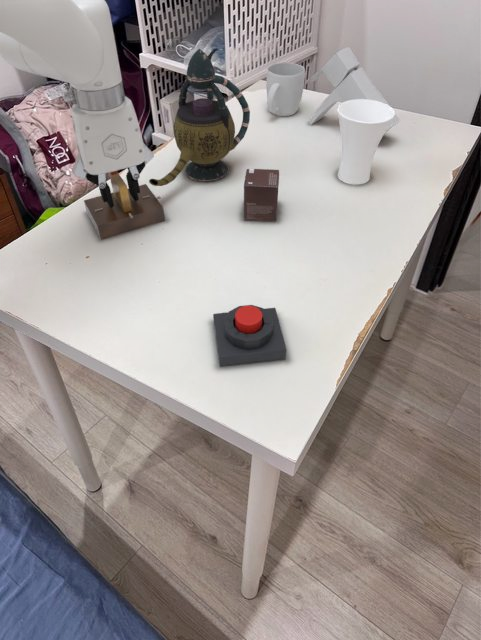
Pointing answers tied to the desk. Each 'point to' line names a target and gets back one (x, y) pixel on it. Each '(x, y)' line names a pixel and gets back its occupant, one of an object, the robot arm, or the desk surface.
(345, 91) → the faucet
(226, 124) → the teapot
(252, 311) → the red short cylinder
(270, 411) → the desk surface
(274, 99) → the mug
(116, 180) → the tap handle
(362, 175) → the cup
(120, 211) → the tap block
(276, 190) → the box
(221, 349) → the dark grey squat piece
